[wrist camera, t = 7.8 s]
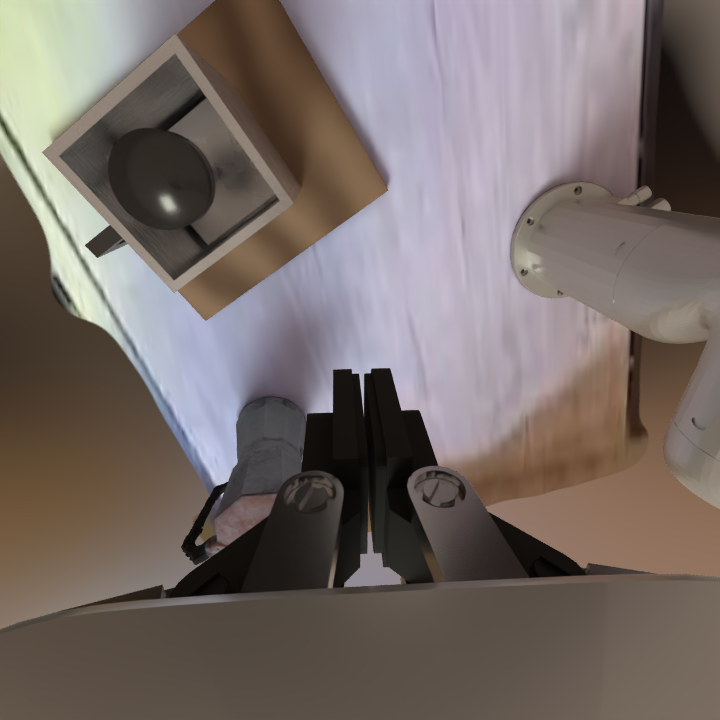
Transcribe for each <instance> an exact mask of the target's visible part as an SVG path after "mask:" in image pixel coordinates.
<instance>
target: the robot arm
mask: <svg viewBox="0 0 720 720" xmlns="http://www.w3.org/2000/svg"><path fill="white" fill-rule="evenodd" d="M574 190H575V191H574ZM651 195H652V192H651V190H650V188H649V187H648V186H642V187H640V188H639V189H637V190H636V191H634V192H633V193H631V195H629V196H627V197H626V198H623V197H614V196H613V194H612V193H611V192H610V191H608V190H607V189H605V188H604V187H602V186H599V185H597V184H594V183H588V182H570V183H566V184H562V185H559V186H557V187H554V188H552V189H550V190H548V191H547V192H545V193H544V194H542V195H541V196H540V197H538V198H537V199H536V200H535V201H534V202H533V203H532V204H531V205H530V206H529V207H528V209H527V210H526V211H525V212H524V214H523V215H522V217H521V219H520V220H519V222H518V224H517V226H516V229H515V231H514V234H513V237H512V242H511V248H510V259H511V264H512V269H513V271H514V273H515V276H516V277H517V279H518V280H519V282H520V283H521V284H522V285H523V286H524V287H525V288H526V289H528V290H529V291H531V292H533V293H534V294H537V295H539V296H542V297H547V298H563V297H567V296H570V297H572V298H573V299H575V300H577V301H579V302H581V303H583V304H584V305H586V306H588V307H590V308H592V309H594V310H596V311H597V312H599V313H601V314H603V315H605V316H607V317H608V318H610V319H612V320H614V321H616V322H618V323H619V324H621V325H623V326H625V327H627V328H629V329H631V330H632V331H634V332H636V333H638V334H640V335H642V336H644V337H647V338H649V339H652V340H655V341H659V342H665V343H692V342H700V341H706V340H708V341H707V344H706V346H705V348H704V351H703V353H702V355H701V357H700V359H699V364H698V366H697V368H696V370H695V372H694V374H693V376H692V378H691V380H690V382H689V384H688V386H687V388H686V390H685V392H684V394H683V396H682V398H681V400H680V402H679V404H678V406H677V408H676V410H675V412H674V415H673V418H672V419H671V421H670V424H669V426H668V429H667V431H666V434H665V437H664V441H663V455H664V459H665V462H666V464H667V466H668V468H669V469H670V471H671V472H672V473H673V475H674V476H675V477H676V478H677V479H678V480H679V481H680V482H681V483H682V484H683V485H684V486H685V487H687V488H688V489H689V490H690V491H692V492H693V493H694V494H696V495H697V496H699V497H700V498H702V499H704V500H705V501H706V502H708V503H710V504H712V505H713V506H715V507H717V508H718V509H720V218H713V217H706V216H699V215H692V214H685V213H679V212H672V211H670V210H671V208H670V205H669V203H668V202H667V201H666V200H665V199H663V198H659V199H657V200H655V201H654V202H652V203H650V204H649V205H647V206H645V207H638V206H636V205H637V204H640V203H642V202H643V201H645V200H646V199H648V198H650V197H651ZM528 219H529V221H528V222H527V220H528ZM522 269H523V270H522ZM521 270H522V272H521ZM368 501H369V511H370V521H371V531H372V541H373V551H374V553H382V560H383V567H390V568H391V569H392V570H393V571H395V572H396V573H397V574H399V575H400V576H401V578H400V581H401V584H398V585H379V586H362V587H346V581H347V580H348V579H349V578H350V577H351V576H352V575H353V574H354V573H355V572H356V571H357V570H358V568H360V554H367V533H368ZM0 720H720V577H714V576H702V575H690V574H655V573H649V572H643V571H636V570H629V569H623V568H616V567H611V566H604V565H598V564H591V563H588V564H587V567H586V568H581V567H580V566H579V565H578V564H577V563H576V562H574V561H573V560H571V559H570V558H569V557H567V556H566V555H564V554H563V553H561V552H559V551H557V550H555V549H553V548H552V547H550V546H548V545H546V544H545V543H543V542H541V541H539V540H537V539H536V538H534V537H532V536H530V535H528V534H527V533H525V532H523V531H521V530H520V529H518V528H516V527H514V526H513V525H511V524H509V523H507V522H505V521H504V520H501V519H500V518H498V517H496V516H495V515H493V514H491V513H489V512H488V511H487V509H486V508H485V506H484V504H483V503H482V501H481V500H480V498H479V497H478V495H477V493H476V492H475V490H474V489H473V487H472V485H471V484H470V483H469V481H468V480H467V479H466V478H465V477H464V476H463V475H461V474H460V473H458V472H457V471H455V470H452V469H450V468H447V467H441V466H438V464H437V461H436V458H435V455H434V452H433V449H432V446H431V443H430V440H429V437H428V434H427V431H426V428H425V425H424V422H423V419H422V416H421V413H420V411H419V410H405V411H401V408H400V404H399V400H398V396H397V392H396V389H395V385H394V381H393V377H392V374H391V370H390V368H379V369H371V373H370V374H364V414H363V405H362V396H361V388H360V379H359V374H352V369H339V370H333V413H308V414H307V422H306V431H305V440H304V449H303V459H302V468H301V473H298V474H296V475H294V476H292V477H290V478H289V479H287V480H286V481H285V482H284V483H283V484H282V486H281V487H280V489H279V491H278V493H277V496H276V499H275V501H274V504H273V507H272V509H271V512H270V515H269V516H268V517H266V518H265V519H263V520H262V521H261V522H259V523H258V524H256V525H255V526H254V527H252V528H251V529H250V530H248V531H247V532H245V533H244V534H243V535H241V536H240V537H238V538H237V539H236V540H234V541H233V542H232V543H230V544H229V545H227V546H226V547H225V548H223V549H222V550H220V551H219V552H218V553H216V554H215V555H214V556H212V557H211V558H209V559H208V560H207V561H205V562H204V563H203V564H201V565H200V566H198V567H197V568H196V569H194V570H193V571H192V572H190V573H189V574H188V575H187V576H185V577H184V578H183V579H182V580H181V581H180V582H179V583H178V584H177V585H176V587H175V588H171V589H167V590H164V587H163V585H159V586H155V587H152V588H148V589H144V590H140V591H136V592H132V593H128V594H124V595H120V596H116V597H113V598H109V599H105V600H101V601H97V602H94V603H89V604H86V605H81V606H77V607H74V608H70V609H66V610H62V611H58V612H55V613H51V614H47V615H44V616H40V617H37V618H33V619H29V620H26V621H22V622H18V623H16V624H13V625H11V626H8V627H5V628H2V629H0Z"/></svg>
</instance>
